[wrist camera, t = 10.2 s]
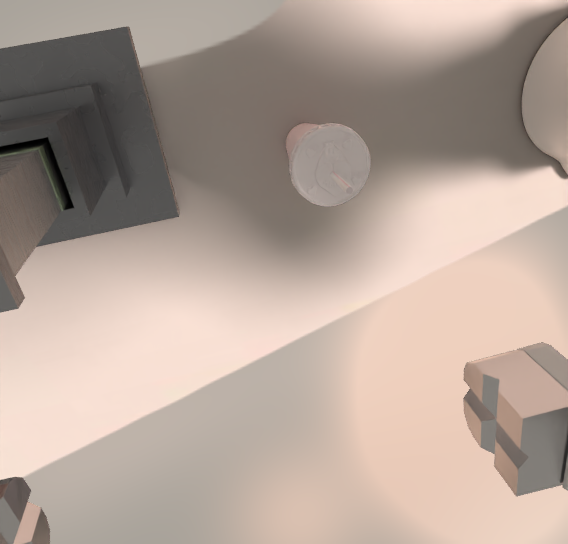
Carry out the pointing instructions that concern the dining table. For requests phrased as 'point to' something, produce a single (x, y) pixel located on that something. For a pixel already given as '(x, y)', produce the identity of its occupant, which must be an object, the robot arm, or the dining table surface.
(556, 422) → the robot arm
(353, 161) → the smoothie
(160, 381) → the dining table surface
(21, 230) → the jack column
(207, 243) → the dining table surface
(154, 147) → the base
